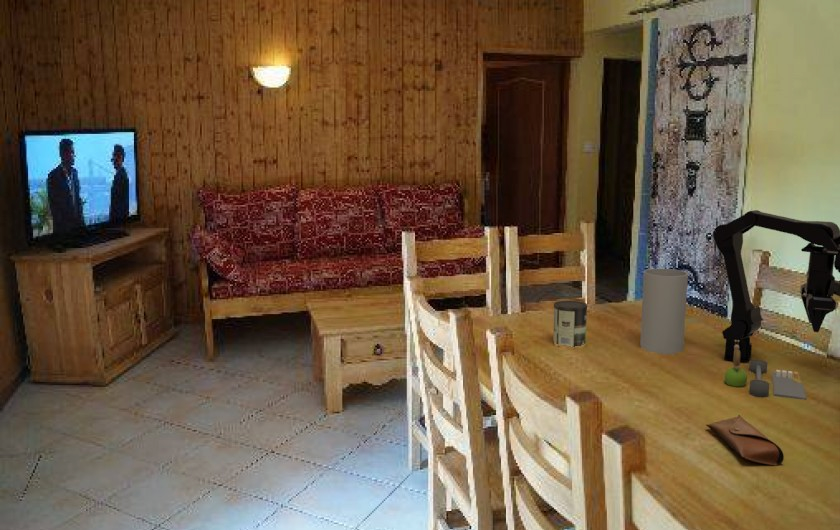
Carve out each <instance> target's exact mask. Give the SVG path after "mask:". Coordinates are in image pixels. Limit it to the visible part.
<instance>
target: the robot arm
mask: <svg viewBox="0 0 840 530" xmlns="http://www.w3.org/2000/svg"><path fill="white" fill-rule="evenodd" d="M754 227H759V228H763V229H768V230H772V231H777V232H780V233H784V234H789V235H794V236H796V237H799V238H801V239H802V240H804V241H806V242H808V243H807V245H806V246H804V247H802V248H801V249H800V250H801V252H804V253H809V258H808V267H807V271H806V272H805V273H806V274H805V275H806V282H805V283H803V284H802V285H801V286H800V290H799V293H800V297H801V301H802V305H803V306H804V307H803V308H804V310H805V313H806V317H807V319H808V322H809V324H811V326H812V327H811V328H812V330H813V332H814V333H819V332H820V329H821V327H822V325H823V322H824V321H825V317H826V316H827V315H828V314H830V313H833V312H834V310H836V307H837V301H836V299H834V298H833V297H834V295H836V296H838V297H840V280H837V279H836V277H835V276H834V269H835V270H837V272H838V274H840V227H839V226H838V224H836V223H835V222H832V221H821V220H820V221H818V220H800V219H797V218H796V219H794V218H792V217H786V216H782V215H777V214H772V213H767V212H763V211H760V210H757V209H756V210H755V209H754V210H750V211H747V212H745V213H744V214H743V215H741V216H739V217H738V218H735V219H733V220H732V221H730V222H728V223H724V224H719V225H717V226H716V227H715V229H714V230H713V231H712V238H713V241H714V243H715V246H716V248H717V249H718V251H719V252H720V253H721V256H722V258H723V261H724V267H725V272H726V276H727V281H728V285H729V291H730V297H731V300H732V309H731V314H730V324H731V325H729V326H727V327H726V328H725V329H723V330H722V331H721V334H722V337H723V339H724V340H725V346H724V347H725V348H724V356H723V359H724V360H726V361H727V360H728V361H733V356H734V346H735V340H737V341H738V340H739V342H736V344H737V345H739V350H740V362H744V363H748V362H749V363H750V359H752V347H753V343H752V342H750V341H751V337H753V335H754V334H755V332H757V331H758V330H760V328H761V327H762V321H764V319H763V317H762V315H761V307H760V306H757V307H756V306H754V304H753V303H752V301H751V296H750V293H749V292H750V291H749V287H748V286H749V285H748V282H747V277H746V272H745V267H744V262H743V257H742V249H743V243H744V237H743V236H744V234H745V233H748V232H749V231H750V230H752V229H753V228H754Z"/></svg>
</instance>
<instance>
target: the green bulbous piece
mask: <svg viewBox="0 0 840 530" xmlns="http://www.w3.org/2000/svg"><path fill="white" fill-rule="evenodd" d="M736 342H739V340H738V341H737V340H735V346H734V356H733V360H732V362H733V366H732V367H731V368H728V369H727V370H726V371H725V373H724V376H723V378H724V381H725V383H726V384H727V386H729V387H734V388H741V387H744V386H745V385H746V384H747V382H748V375H747V373H746V371H744V370H743V369H742V368H740V366H741V361H740V350H739V345H737V344H736Z"/></svg>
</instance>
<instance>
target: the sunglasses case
mask: <svg viewBox="0 0 840 530" xmlns="http://www.w3.org/2000/svg"><path fill="white" fill-rule="evenodd" d="M705 426H706V427H707V428H708V429H710V430H712V431H713V432H714V433H715V434H716V435H717V436H718V437H720V439H721V440H722V441H723V442H725V443H726V444H727V445H728V447H729V448H731V449H732V450H733V451H734V452H735V453H737V455H739V456H741V458H744V459H745V460H748V461H751V462H755V463H757V464H763V465H770V466H779V465H781V464H782V463H783V461H784V458H785V455H784V452H783V450H782V449H781V447H780V446H779V445H778V444H776V442H774V441H773V440H771V439H769V438H768V437H767V436H765V434H763V433H762V432H761V431H760V430H759V429H757V428H756V427H755V426H753V425H752V424H751V423H750V422H748V421H747V420H745V419H744V418H743V417H742V416H741V415H740V414H738V416H735V417H732V418H727V419H723V420H719V421H716V422H713V423H706V425H705Z"/></svg>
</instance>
